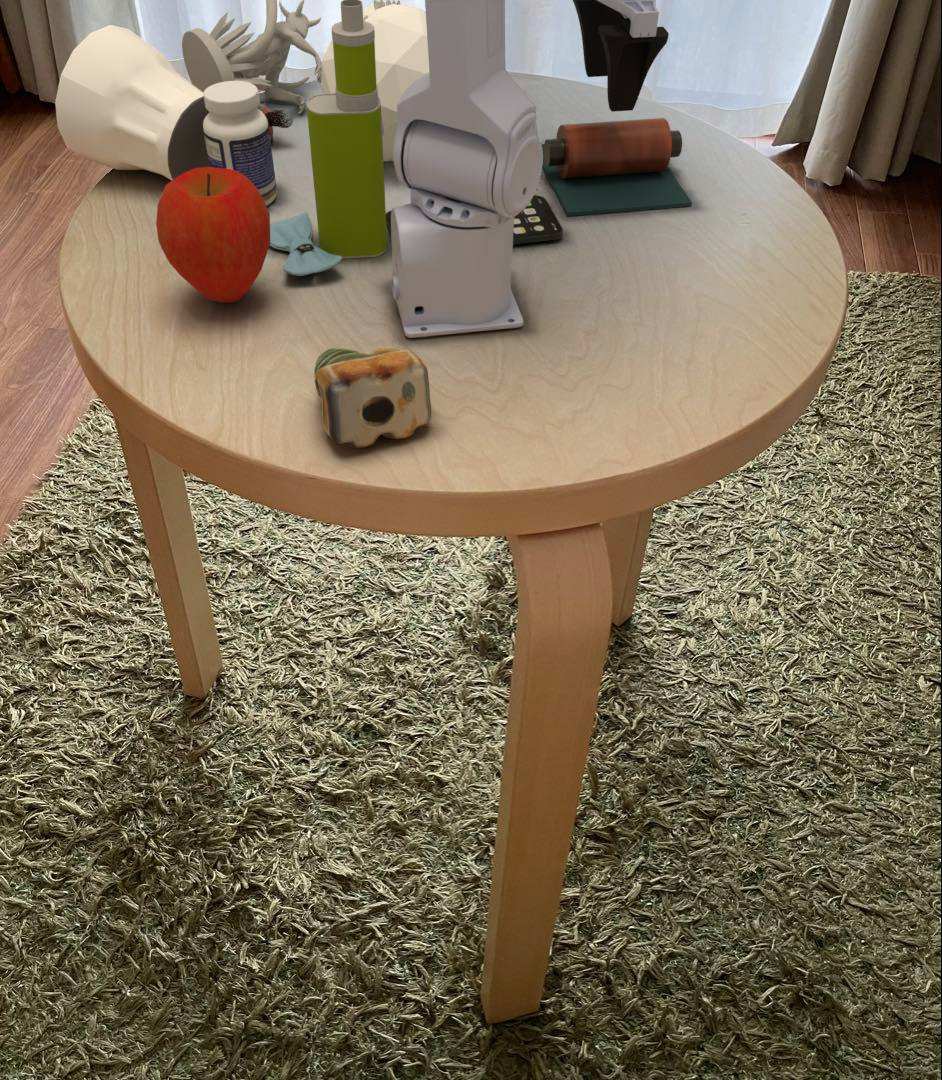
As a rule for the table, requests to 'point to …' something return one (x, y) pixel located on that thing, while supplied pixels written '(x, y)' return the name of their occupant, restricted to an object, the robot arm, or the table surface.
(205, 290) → the apple
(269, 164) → the pill bottle
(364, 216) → the vape
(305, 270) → the bow tie
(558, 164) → the rolling pin
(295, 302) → the table surface
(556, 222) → the smartphone
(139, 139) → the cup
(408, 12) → the geodesic sphere
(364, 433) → the ornament
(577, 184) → the pastry mat
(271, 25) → the demon figurine
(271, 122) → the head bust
